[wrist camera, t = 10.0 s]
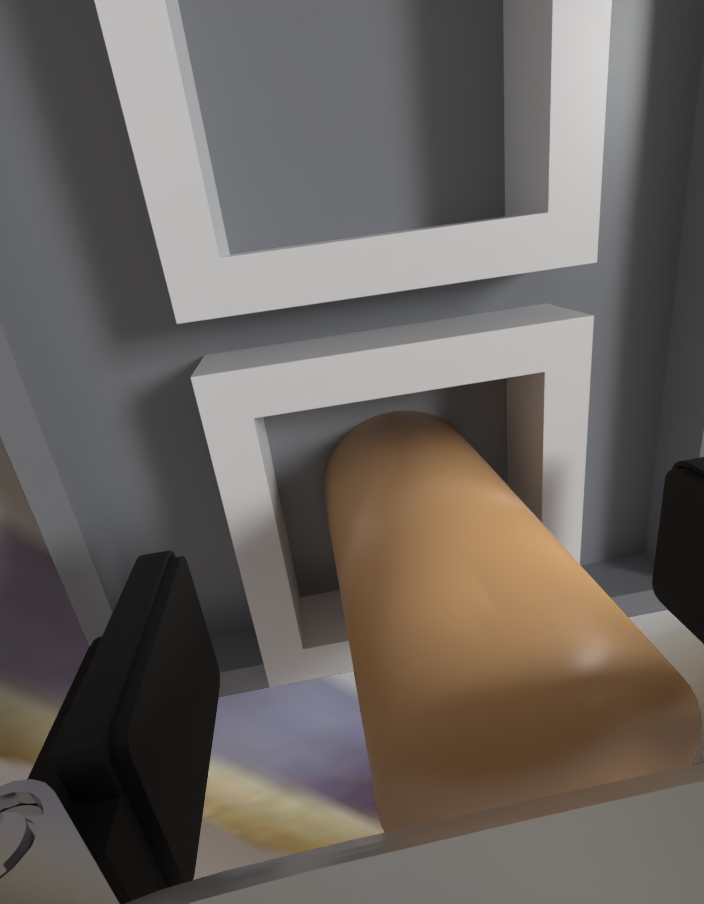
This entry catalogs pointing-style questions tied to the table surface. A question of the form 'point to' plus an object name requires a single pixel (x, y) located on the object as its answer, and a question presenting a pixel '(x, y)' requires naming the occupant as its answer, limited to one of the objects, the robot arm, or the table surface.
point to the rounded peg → (483, 637)
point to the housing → (342, 281)
